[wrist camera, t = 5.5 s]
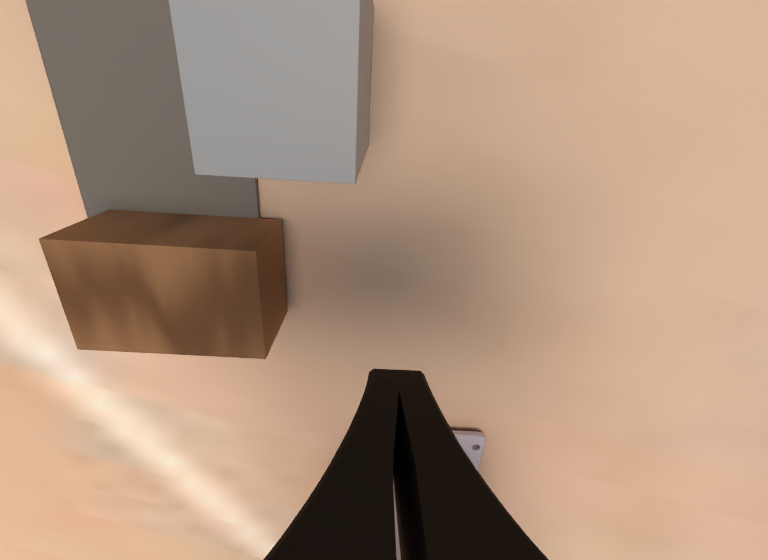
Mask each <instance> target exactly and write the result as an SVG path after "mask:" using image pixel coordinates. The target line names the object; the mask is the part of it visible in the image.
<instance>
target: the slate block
mask: <svg viewBox="0 0 768 560" xmlns="http://www.w3.org/2000/svg"><path fill="white" fill-rule="evenodd" d="M169 6H170V13H171V19H172V26H173V32H174V39H175V45H176V52H177V59H178V65H179V72H180V78H181V85H182V91H183V98H184V105H185V111H186V118H187V124H188V131H189V137H190V144H191V151H192V157H193V164H194V170H195V174H198V175H214V176H231V177H247V178H264V179H280V180H296V181H313V182H329V183H346V184H355V183H356V180H357V177H358V174H359V171H360V168H361V166H362V163H363V160H364V157H365V154H366V151H367V148H368V145H369V120H370V94H371V69H372V43H373V18H374V6H373V0H169Z"/></svg>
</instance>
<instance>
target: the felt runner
mask: <svg viewBox="0 0 768 560" xmlns="http://www.w3.org/2000/svg"><path fill="white" fill-rule="evenodd" d="M26 4H27V7H28V11H29V14H30V18H31V21H32V25H33V28H34V32H35V35H36V39H37V42H38V46H39V49H40V53H41V56H42V60H43V63H44V67H45V70H46V74H47V77H48V81H49V84H50V88H51V91H52V95H53V98H54V102H55V105H56V109H57V112H58V116H59V119H60V123H61V126H62V130H63V133H64V137H65V140H66V144H67V147H68V151H69V154H70V158H71V161H72V165H73V168H74V172H75V175H76V179H77V182H78V186H79V189H80V193H81V196H82V199H83V203H84V206H85V210H86V213H87V217H88V218H90V217H92V216H95V215H97V214H99V213H102V212H104V211H107V210H125V211H142V212H160V213H177V214H194V215H211V216H228V217H245V218H260V207H259V196H258V184H257V178H247V177H231V176H214V175H198V174H195V170H194V164H193V157H192V151H191V144H190V137H189V131H188V124H187V118H186V111H185V105H184V98H183V91H182V85H181V78H180V72H179V65H178V59H177V52H176V45H175V39H174V32H173V26H172V19H171V13H170V6H169V0H26Z"/></svg>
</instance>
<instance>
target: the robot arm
mask: <svg viewBox="0 0 768 560" xmlns="http://www.w3.org/2000/svg"><path fill="white" fill-rule="evenodd" d="M476 444H477V445H476ZM484 444H485V437H484V435H483V433H481V432H477V431H457V430H451V428H450V426H449V425H448V423H447V421H446V419H445V418H444V416H443V414H442V412H441V410H440V408H439V406H438V404H437V402H436V400H435V398H434V396H433V394H432V392H431V390H430V388H429V386H428V383H427V381H426V378H425V376H424V374H423V373H422V372H421V371H410V370H388V369H373V370H371V371H370V372H369V376H368V381H367V385H366V388H365V392H364V394H363V397H362V400H361V402H360V405H359V407H358V410H357V412H356V414H355V416H354V418H353V421H352V423H351V425H350V427H349V429H348V431H347V434H346V435H345V437H344V439H343V441H342V443H341V445H340V447H339V448H338V450H337V452H336V454H335V456H334V458H333V460H332V461H331V463H330V465H329V467H328V468H327V470H326V472H325V473H324V475H323V477H322V478H321V480H320V481H319V483H318V485H317V486H316V488H315V489H314V491H313V492H312V494H311V495H310V497H309V498H308V500H307V501H306V503H305V504H304V506H303V507H302V509H301V510H300V511H299V513H298V514H297V516H296V517H295V518H294V520H293V521H292V523H291V524H290V526H289V527H288V528H287V530H286V531H285V533H284V534H283V535H282V537H281V538H280V539H279V541H278V542H277V543H276V545H275V546H274V547H273V548H272V550H271V551H270V552H269V553H268V555H267V556H266V557H265V558H264V560H548V558H547V557H546V556H545V555H544V554H543V553H542V552H541V551H540V550H539V548H538V547H537V546H536V545H535V544H534V543H533V542H532V541H531V540H530V538H529V537H528V536H527V535H526V534H525V532H524V531H523V530H522V529H521V528H520V526H519V525H518V524H517V523H516V521H515V520H514V519H513V518H512V516H511V515H510V514H509V513H508V512H507V510H506V509H505V508H504V506H503V505H502V504H501V502H500V501H499V500H498V499H497V497H496V496H495V495H494V493H493V492H492V491H491V489H490V488H489V486H488V485H487V484H486V482H485V481H484V480H483V478H482V477H481V475H480V474H479V472H478V469H479V465H480V461H481V456H482V452H483V448H484Z"/></svg>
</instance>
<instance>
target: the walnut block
mask: <svg viewBox="0 0 768 560" xmlns="http://www.w3.org/2000/svg"><path fill="white" fill-rule="evenodd" d="M39 241H40V244H41V247H42V249H43V252H44V255H45V258H46V261H47V264H48V266H49V269H50V272H51V275H52V278H53V281H54V283H55V286H56V289H57V292H58V295H59V298H60V300H61V303H62V306H63V309H64V312H65V315H66V317H67V320H68V323H69V326H70V329H71V332H72V334H73V337H74V340H75V343H76V346H77V349H81V350H101V351H120V352H140V353H160V354H180V355H199V356H219V357H239V358H259V359H266V357H267V355H268V353H269V351H270V348H271V346H272V344H273V342H274V340H275V337H276V335H277V333H278V331H279V329H280V326H281V324H282V322H283V320H284V317H285V315H286V313H287V300H286V283H285V266H284V249H283V232H282V220H280V219H262V218H245V217H228V216H211V215H194V214H177V213H160V212H142V211H125V210H107V211H104V212H102V213H99V214H97V215H95V216H92V217H90V218H87V219H85V220H83V221H80V222H78V223H76V224H73V225H71V226H68V227H66V228H64V229H61V230H59V231H56V232H54V233H52V234H49V235H47V236H45V237H42V238H40V239H39Z"/></svg>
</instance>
